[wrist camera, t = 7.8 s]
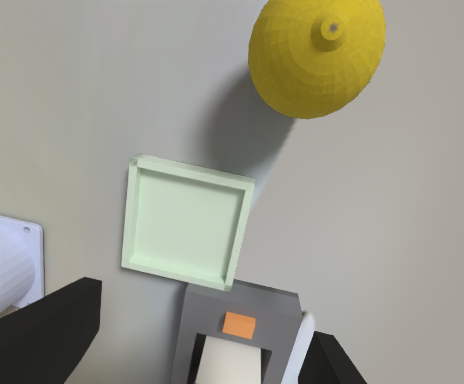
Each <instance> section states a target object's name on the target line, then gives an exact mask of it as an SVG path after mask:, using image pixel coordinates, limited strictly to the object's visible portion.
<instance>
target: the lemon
mask: <svg viewBox="0 0 464 384" xmlns="http://www.w3.org/2000/svg"><path fill="white" fill-rule="evenodd" d="M385 30H386V24H385V19H384V14H383V9H382V6H381V4H380V2H379V0H269V1H268V2H267V4H266V5H265V6H264V7H263V9H262V11H261V13H260V15H259V17H258V19H257V21H256V23H255V24H254V27H253V31H252V35H251V38H250V42H249V52H248V65H249V70H250V75H251V80H252V82H253V84H254V86H255V88H256V90H257V93H258V94H259V95H260V97H261V98H262V99H263V100H264V101H265V103H266V104H267V105H268V106H270V107H271V108H273V109H274V110H275V111H277V112H278V113H281V114H283V115H286V116H289V117H292V118H300V119H311V118H317V117H323V116H326V115H328V114H330V113H333V112H335V111H337V110H340V109H341V108H343V107H344V106H345V105H346V104H348V103H349V102H351V101H352V100H354V99H355V97H357V96H358V95H359V93H360V92H361V91H362V90H363V89H364V88H365V86H366V85H367V84H368V83H369V82H370V80H371V78H372V76H373V75H374V73H375V71H376V69H377V67H378V65H379V63H380V60H381V56H382V53H383V50H384V46H385Z"/></svg>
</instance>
